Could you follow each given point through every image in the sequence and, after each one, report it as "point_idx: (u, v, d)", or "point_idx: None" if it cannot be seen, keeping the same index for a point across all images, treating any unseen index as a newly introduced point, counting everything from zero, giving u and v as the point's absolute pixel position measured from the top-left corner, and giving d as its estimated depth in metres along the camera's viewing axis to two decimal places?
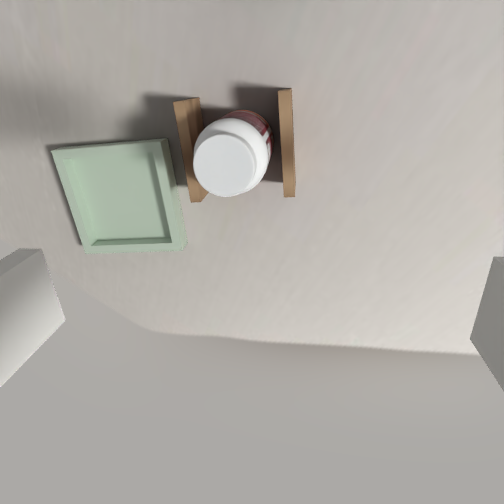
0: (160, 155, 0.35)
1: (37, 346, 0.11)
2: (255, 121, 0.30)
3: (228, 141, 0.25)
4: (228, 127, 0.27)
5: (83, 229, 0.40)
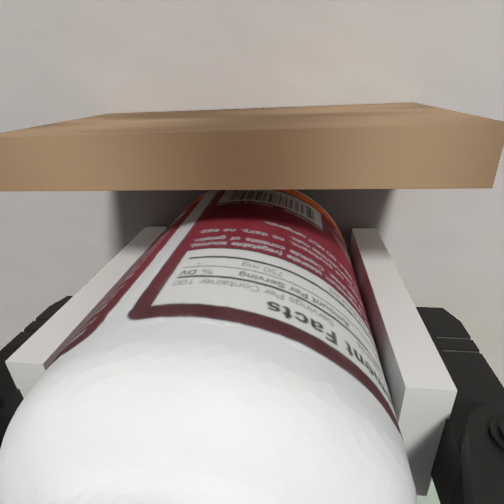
0: None
1: None
2: None
3: None
4: None
5: None
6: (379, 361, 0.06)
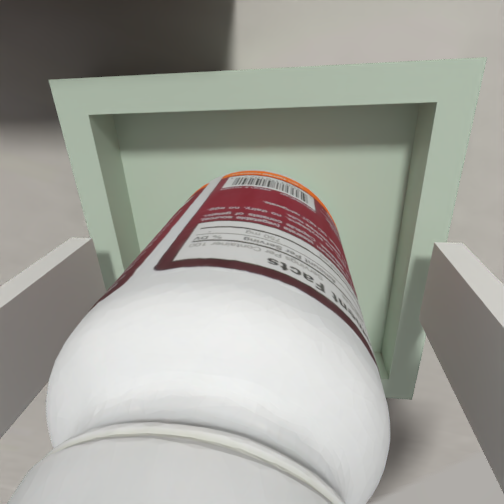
0: (93, 88, 0.10)
1: None
2: None
3: None
4: (55, 445, 0.06)
5: None
6: (362, 316, 0.07)
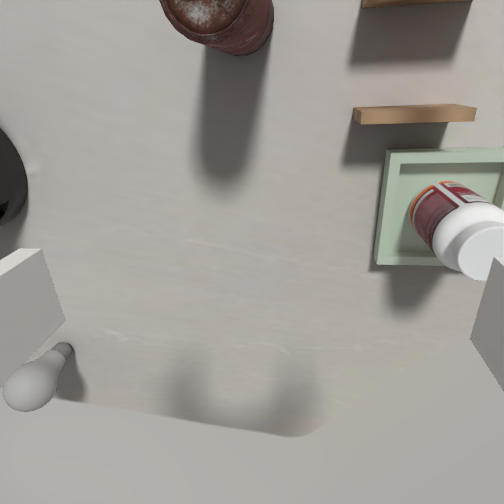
0: (405, 155, 0.33)
1: (37, 346, 0.11)
2: (435, 205, 0.31)
3: (467, 247, 0.27)
4: (445, 238, 0.29)
5: None
6: None
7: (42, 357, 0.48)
